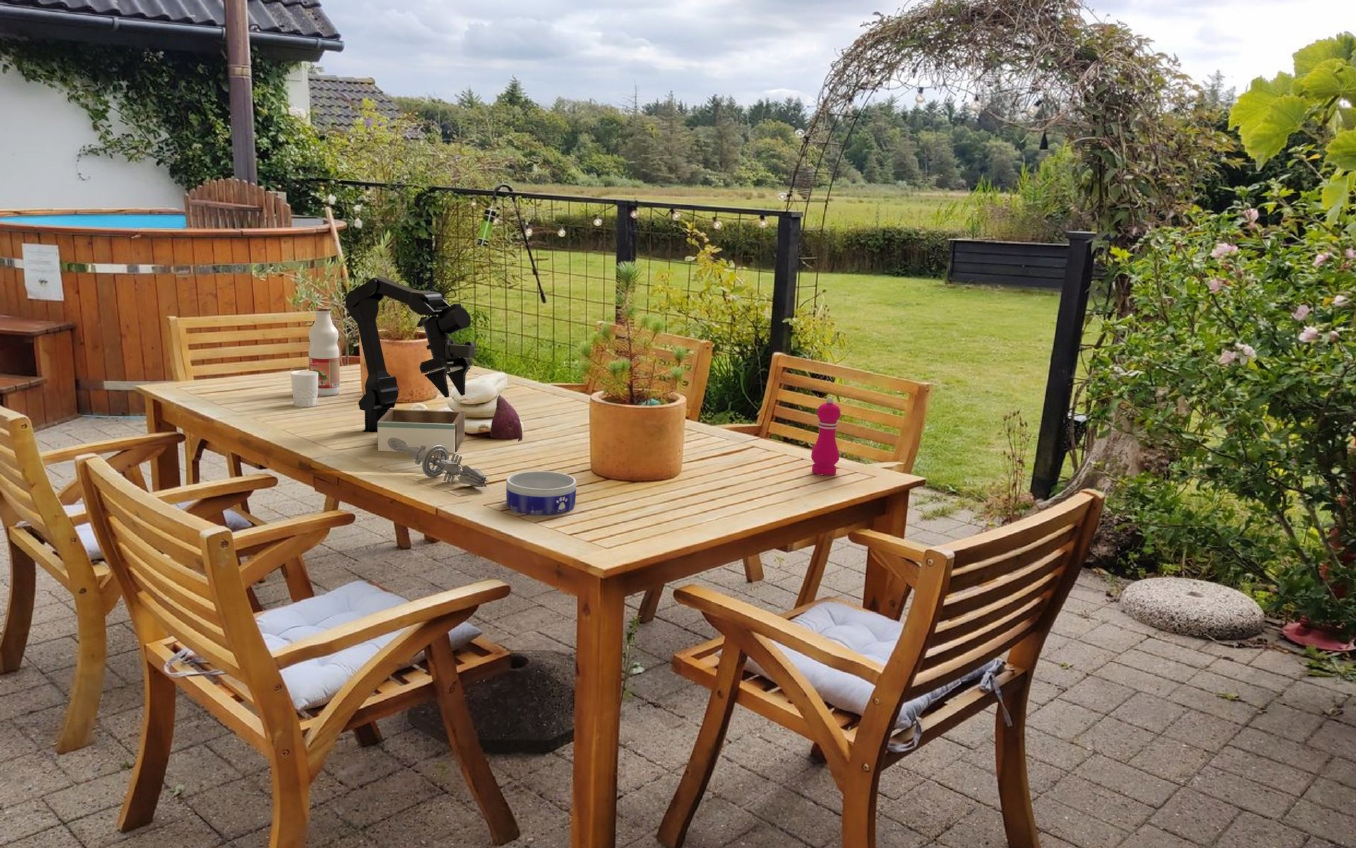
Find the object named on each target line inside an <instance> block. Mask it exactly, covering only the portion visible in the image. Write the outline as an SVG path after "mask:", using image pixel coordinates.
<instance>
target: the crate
mask: <svg viewBox="0 0 1356 848" xmlns="http://www.w3.org/2000/svg"><path fill="white" fill-rule="evenodd" d="M465 414H466V412H465V411H460V410H458V411H455V410H429V409H403V408H401V409H399V408H398V409H397V408H396V409H395V408H390V409H389V410H388V411H387V412H386V413H385V414H384V415H383V417H382V418H381V419H380V420H379V421H383V422H413V423H443V424H455V453H458V450H459V449H460V447H461V445H462V444H463V442H464V440H465V433H466V432H465V431H466V430H465V428H466V427H465V424H466V415H465ZM379 421H378V422H379ZM378 422H377V432H376V433H378Z"/></svg>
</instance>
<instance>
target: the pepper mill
mask: <svg viewBox="0 0 1356 848" xmlns="http://www.w3.org/2000/svg"><path fill="white" fill-rule="evenodd" d="M825 401H826V402H825V403H824V402H823V403H822V404H820V405H819V406H818V408H817V410H816V416H817V418H818V419H819V420H818V425H817V427H818V428H819V430H818V431H819V432H818V437H817V440H816V442H815V444H814V446H813V448H812V450H811V455H810V458H811V460H812V462H813V464H812V467H811V472H812V473H813V472H814V473H816V474H815V475H818V474H823V475H822V476H824V475H831V476H834V475H833V474H835V475H836V474H837V466H836V464H838V462H839V460H840V450H839V448H838V445H837V441H836V432H837V431H836V430H837V429H838V424H839V422H838V420H839V419H840V418H841V415H842V414H841V408H840V406H838V404H836V403H834V398H833V397H831V396H828V397H827V398H826V400H825ZM814 473H813V474H814Z"/></svg>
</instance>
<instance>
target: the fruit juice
mask: <svg viewBox="0 0 1356 848" xmlns="http://www.w3.org/2000/svg"><path fill="white" fill-rule="evenodd" d="M314 312H315V320H314V323H313V324H312V326H311V327H310V329H309V330H308V340H309V342H310V343H309V347H308V371H315V372H318V396H322V397H323V396H324V397H325V396H329V397H330V396H335V395H339V394H340V392H341V373H340V366H341V365H340V364H341V363H340V361H341V360H340V348H339V344H338V340H339V337H340V335H339V330H338V329H337V328H336V326H335V325H334V323H333V321H332V317H331V313H332V307H331V306H325V305H324V306H323V305H322V306H320V305H319V306H315V308H314Z"/></svg>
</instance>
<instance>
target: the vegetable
mask: <svg viewBox="0 0 1356 848" xmlns="http://www.w3.org/2000/svg"><path fill="white" fill-rule="evenodd" d="M495 406H496V407H495V412H494V414H493V417H492V419H491V424H490V433H489V434H490V435H489V437H490V438H492V439H497V440H506V441H507V440H508V441H509V440H510V441H511V440H518V441H517V442H520V441H522V440H523V427H522V424H521V423H522V422H521V420H520V416H519V414H518V413H517V410H516V409H515V408H514V406H512V405H511V404H510V403H509V402H508V401H507V400H506V399H505V398H504V397H503V396H502V395H501V394H498V397H497V398H496V405H495Z"/></svg>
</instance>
